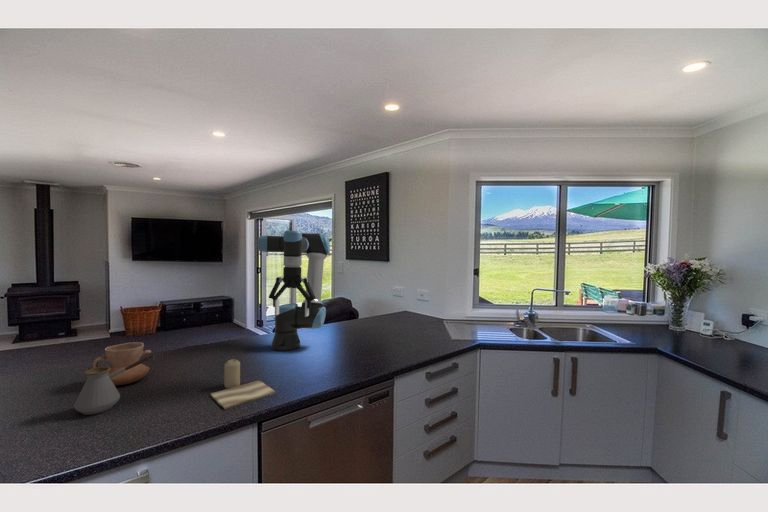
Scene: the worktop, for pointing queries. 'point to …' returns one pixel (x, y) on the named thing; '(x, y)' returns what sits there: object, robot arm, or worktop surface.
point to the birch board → (242, 394)
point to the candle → (232, 373)
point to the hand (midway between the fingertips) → (291, 315)
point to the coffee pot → (100, 390)
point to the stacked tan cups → (125, 362)
